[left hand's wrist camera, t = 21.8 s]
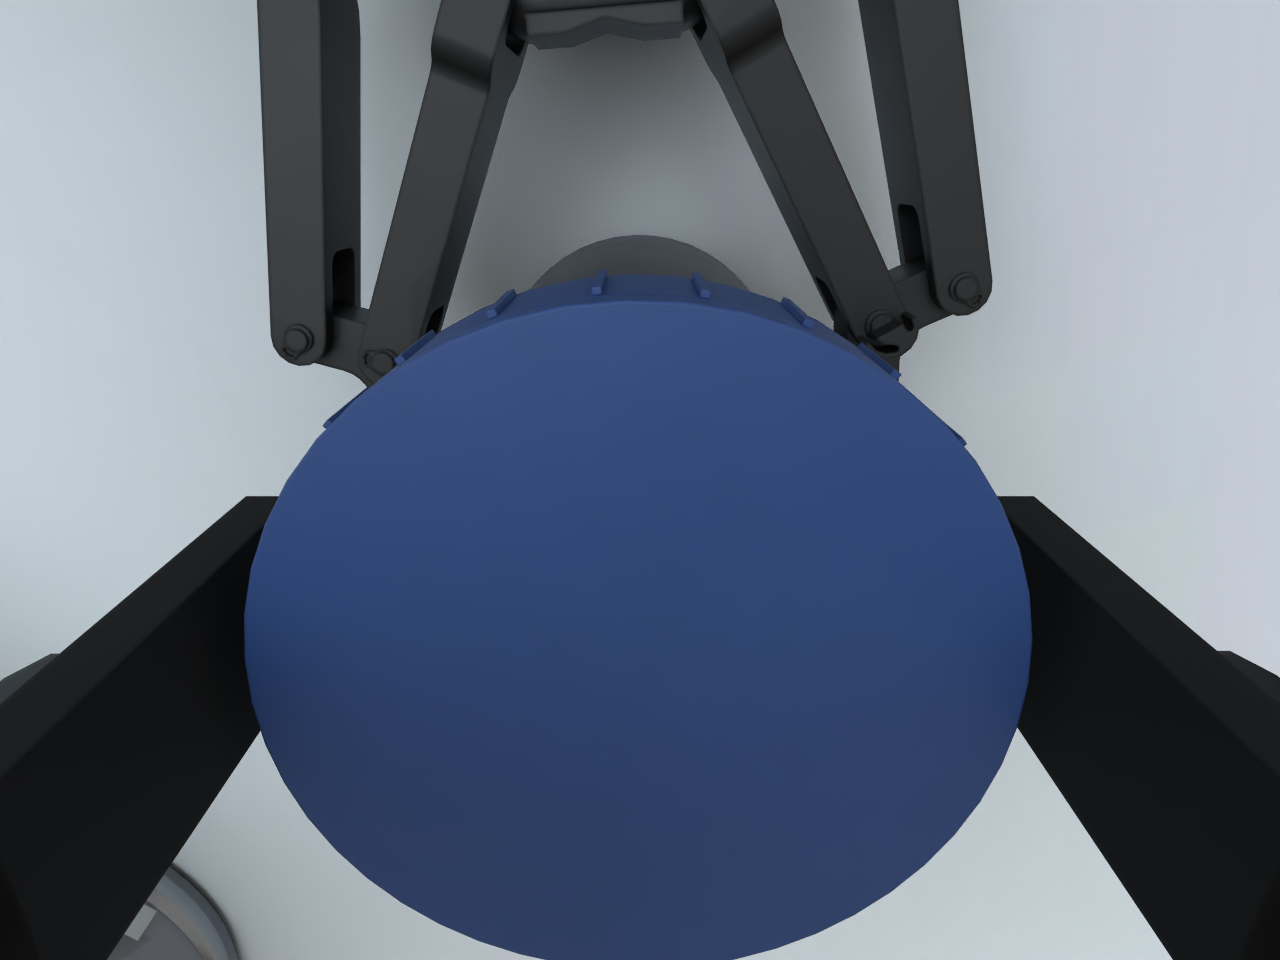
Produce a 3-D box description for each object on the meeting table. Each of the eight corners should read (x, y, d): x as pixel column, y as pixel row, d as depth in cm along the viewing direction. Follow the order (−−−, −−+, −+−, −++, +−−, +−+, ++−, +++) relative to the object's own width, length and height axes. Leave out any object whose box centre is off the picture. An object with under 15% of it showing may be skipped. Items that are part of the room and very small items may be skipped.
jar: (825, 391, 26) (1072, 694, 11) (622, 543, 28) (603, 973, 13) (658, 173, 24) (690, 189, 9) (449, 356, 25) (186, 622, 11)
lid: (651, 945, 15) (653, 1066, 13) (173, 619, 12) (83, 706, 10) (1108, 596, 12) (1199, 681, 10) (617, 90, 10) (612, 70, 8)
